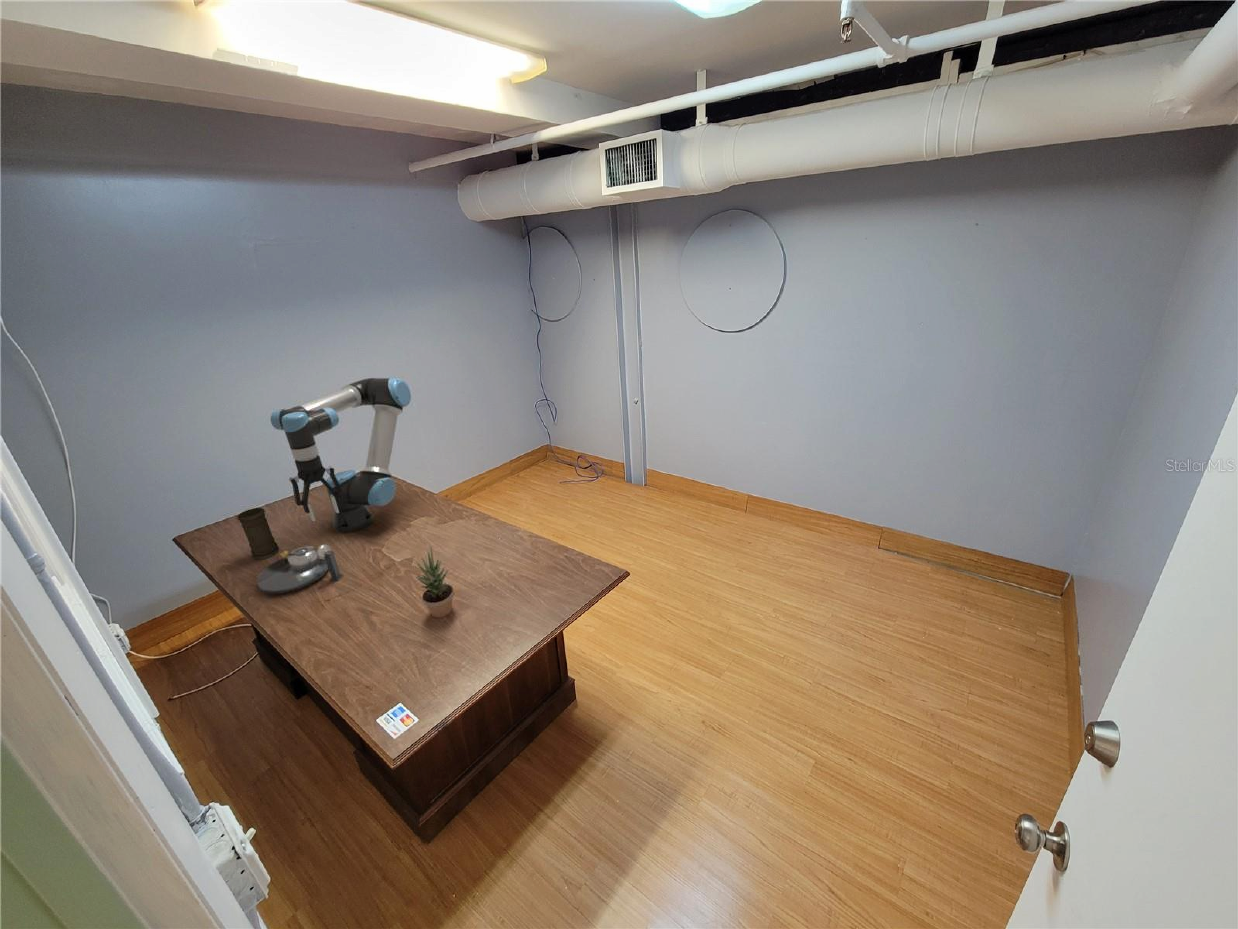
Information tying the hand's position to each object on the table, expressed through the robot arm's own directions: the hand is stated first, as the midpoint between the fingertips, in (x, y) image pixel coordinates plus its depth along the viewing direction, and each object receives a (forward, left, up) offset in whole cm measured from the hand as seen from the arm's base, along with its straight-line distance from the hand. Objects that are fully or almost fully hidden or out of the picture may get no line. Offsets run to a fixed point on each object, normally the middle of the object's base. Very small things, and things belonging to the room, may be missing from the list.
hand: (325, 515), depth 179 cm
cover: (+11, 0, -16) cm, 19 cm away
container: (+19, -27, -19) cm, 38 cm away
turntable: (+15, 0, -18) cm, 23 cm away
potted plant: (-13, +57, -19) cm, 62 cm away
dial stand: (+5, +12, -19) cm, 23 cm away
